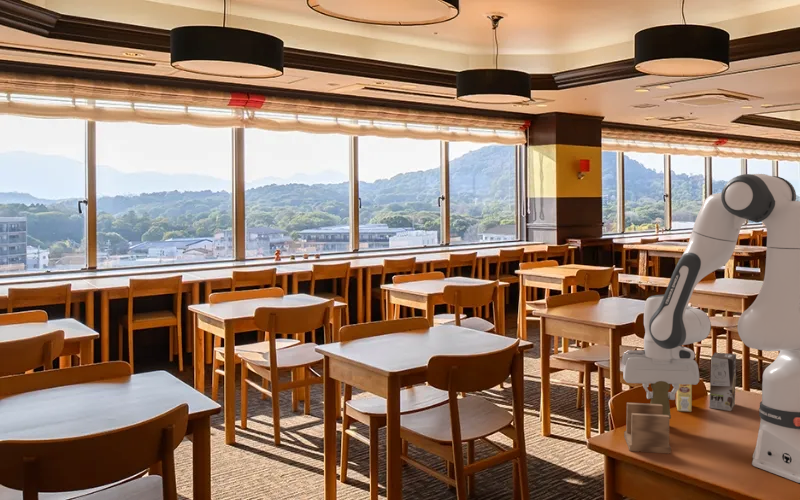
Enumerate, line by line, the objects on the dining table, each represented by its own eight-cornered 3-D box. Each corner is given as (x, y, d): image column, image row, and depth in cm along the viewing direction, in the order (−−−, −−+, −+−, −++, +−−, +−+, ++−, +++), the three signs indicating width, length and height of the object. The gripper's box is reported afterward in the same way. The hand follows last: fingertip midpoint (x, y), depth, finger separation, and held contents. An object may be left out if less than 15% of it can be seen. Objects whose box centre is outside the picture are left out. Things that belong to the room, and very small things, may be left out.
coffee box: (731, 411, 205) (733, 359, 204) (708, 408, 209) (710, 356, 208) (735, 404, 213) (737, 353, 212) (713, 400, 216) (714, 351, 215)
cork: (672, 420, 188) (674, 381, 188) (650, 419, 189) (651, 380, 189) (668, 414, 194) (669, 376, 194) (646, 413, 195) (647, 375, 195)
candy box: (692, 412, 204) (693, 362, 203) (677, 411, 206) (678, 361, 205) (688, 404, 213) (689, 356, 212) (674, 403, 214) (675, 355, 213)
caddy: (662, 438, 181) (663, 404, 181) (670, 453, 171) (671, 417, 170) (624, 436, 183) (624, 402, 183) (629, 450, 173) (630, 414, 172)
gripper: (623, 351, 190) (624, 400, 190) (700, 353, 186) (701, 402, 186) (620, 348, 196) (621, 395, 196) (695, 349, 192) (695, 397, 193)
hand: (660, 398), depth 191 cm, fingers open, 4 cm apart
